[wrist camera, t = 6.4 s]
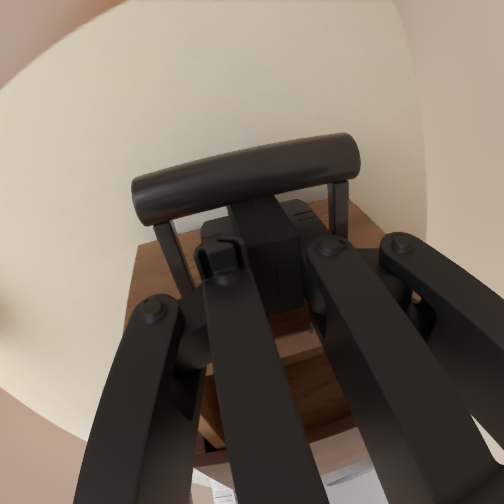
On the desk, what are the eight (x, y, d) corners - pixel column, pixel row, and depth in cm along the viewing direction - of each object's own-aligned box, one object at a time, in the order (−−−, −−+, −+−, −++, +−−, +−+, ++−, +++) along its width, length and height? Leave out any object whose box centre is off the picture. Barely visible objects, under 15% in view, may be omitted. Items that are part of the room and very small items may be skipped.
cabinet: (181, 344, 21) (193, 467, 14) (343, 301, 22) (402, 406, 14) (225, 417, 30) (241, 494, 22) (333, 388, 31) (363, 459, 23)
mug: (357, 404, 36) (381, 460, 29) (362, 419, 41) (383, 465, 34) (280, 436, 37) (297, 492, 30) (297, 446, 43) (312, 493, 35)
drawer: (104, 158, 12) (33, 252, 6) (341, 106, 13) (461, 154, 7) (204, 378, 23) (217, 466, 17) (338, 342, 24) (376, 420, 17)
